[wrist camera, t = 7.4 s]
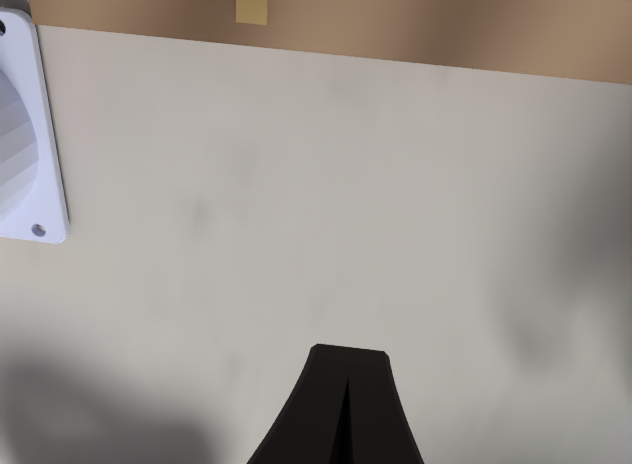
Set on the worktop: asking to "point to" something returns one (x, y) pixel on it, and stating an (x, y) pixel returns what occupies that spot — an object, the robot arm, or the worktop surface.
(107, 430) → the worktop surface
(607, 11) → the fader console
